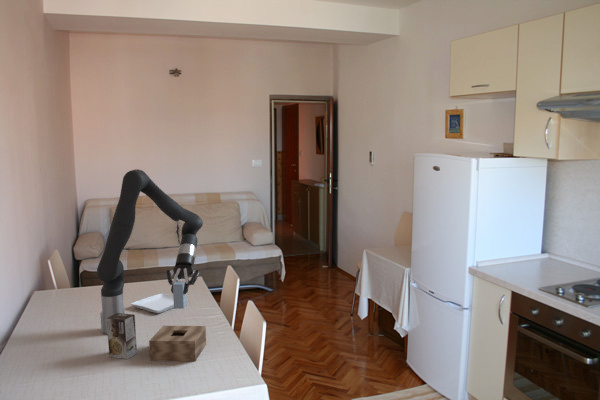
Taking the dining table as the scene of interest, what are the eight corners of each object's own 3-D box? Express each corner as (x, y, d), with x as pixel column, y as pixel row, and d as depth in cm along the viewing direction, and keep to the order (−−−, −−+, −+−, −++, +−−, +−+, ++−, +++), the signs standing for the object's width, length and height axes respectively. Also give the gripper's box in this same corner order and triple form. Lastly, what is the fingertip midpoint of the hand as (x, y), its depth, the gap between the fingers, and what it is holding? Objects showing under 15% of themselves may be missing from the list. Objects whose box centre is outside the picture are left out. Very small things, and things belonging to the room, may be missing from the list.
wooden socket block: (150, 360, 189) (149, 340, 188) (164, 343, 205) (163, 325, 204) (195, 361, 188) (194, 341, 187) (206, 344, 204) (205, 325, 203)
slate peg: (173, 308, 196) (172, 284, 195) (176, 305, 200) (175, 281, 199) (183, 308, 196) (182, 284, 195) (186, 305, 200) (185, 281, 199)
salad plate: (189, 304, 257) (189, 298, 257) (158, 316, 240) (157, 310, 239) (161, 298, 269) (161, 292, 268) (129, 309, 251) (129, 303, 250)
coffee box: (137, 352, 197) (135, 314, 195) (127, 359, 191) (124, 319, 189) (119, 350, 200) (116, 312, 198) (108, 356, 194) (105, 317, 192)
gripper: (167, 252, 204) (159, 288, 194) (200, 252, 204) (194, 288, 193) (171, 261, 210) (164, 297, 199) (204, 261, 209) (198, 297, 199)
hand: (178, 293), depth 196 cm, fingers closed on slate peg, 4 cm apart
